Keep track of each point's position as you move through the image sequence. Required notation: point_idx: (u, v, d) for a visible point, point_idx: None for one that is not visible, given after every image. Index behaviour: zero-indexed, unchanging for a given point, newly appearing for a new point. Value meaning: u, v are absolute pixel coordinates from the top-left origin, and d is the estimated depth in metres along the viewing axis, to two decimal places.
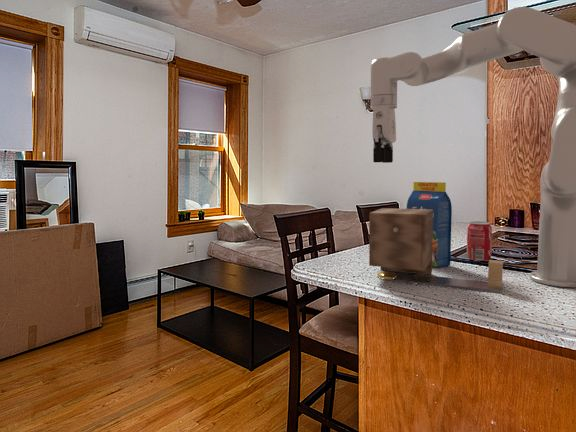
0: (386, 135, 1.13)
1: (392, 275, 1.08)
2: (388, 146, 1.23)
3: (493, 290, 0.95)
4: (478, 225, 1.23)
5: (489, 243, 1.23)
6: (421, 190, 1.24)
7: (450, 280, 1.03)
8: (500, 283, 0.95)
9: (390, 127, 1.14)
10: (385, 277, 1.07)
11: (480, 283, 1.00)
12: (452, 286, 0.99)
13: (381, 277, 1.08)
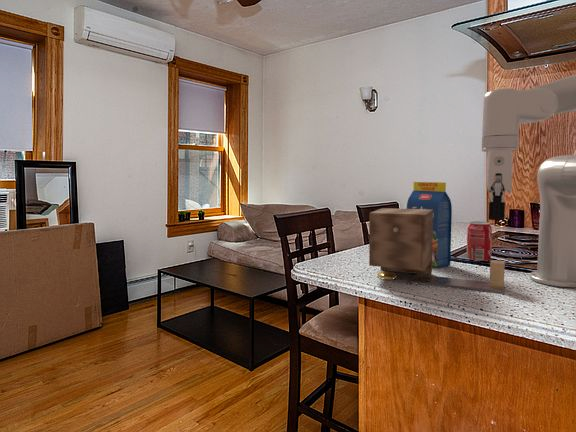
0: (508, 187, 0.89)
1: (392, 275, 1.08)
2: None
3: (495, 290, 0.94)
4: (478, 225, 1.23)
5: (489, 243, 1.23)
6: (421, 190, 1.24)
7: (451, 280, 1.03)
8: (502, 283, 0.95)
9: None
10: (385, 277, 1.07)
11: (482, 283, 1.00)
12: (454, 286, 0.98)
13: (381, 277, 1.08)
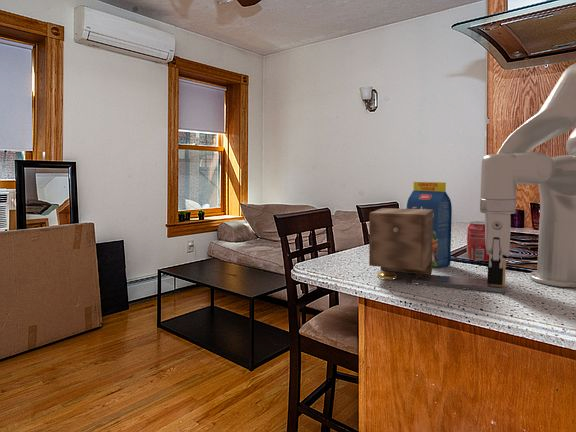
0: (506, 251, 0.91)
1: (392, 275, 1.08)
2: None
3: (496, 288, 0.94)
4: (478, 225, 1.23)
5: None
6: (421, 190, 1.24)
7: (452, 278, 1.03)
8: (503, 281, 0.95)
9: None
10: (385, 277, 1.07)
11: (483, 281, 1.00)
12: (455, 285, 0.98)
13: (381, 277, 1.08)
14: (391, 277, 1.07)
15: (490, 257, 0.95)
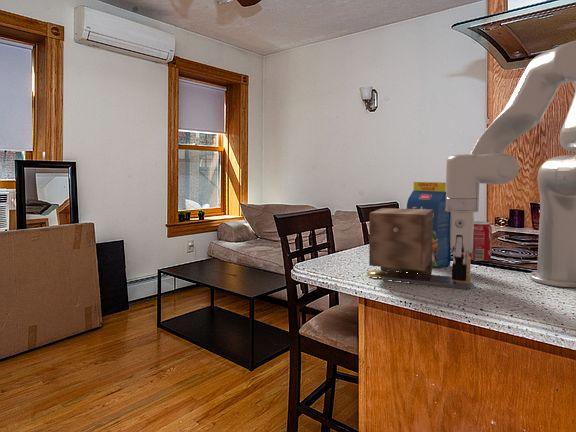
0: (468, 248, 0.95)
1: (381, 273, 1.09)
2: None
3: (461, 285, 0.98)
4: (478, 225, 1.23)
5: (489, 243, 1.23)
6: (421, 190, 1.24)
7: (421, 275, 1.06)
8: (468, 278, 0.99)
9: (472, 237, 0.96)
10: (374, 275, 1.09)
11: (450, 278, 1.03)
12: (422, 281, 1.02)
13: (370, 275, 1.09)
14: (380, 275, 1.08)
15: (454, 254, 0.98)
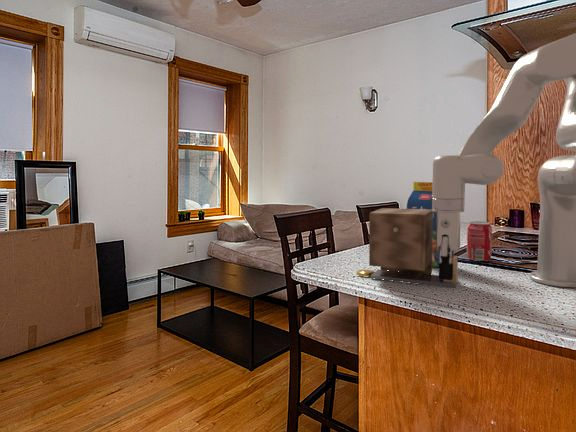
0: (454, 248, 0.96)
1: (370, 273, 1.11)
2: None
3: (447, 283, 0.99)
4: (478, 225, 1.23)
5: (489, 243, 1.23)
6: (421, 190, 1.24)
7: (409, 274, 1.08)
8: (454, 277, 1.00)
9: (458, 237, 0.97)
10: (364, 275, 1.10)
11: (437, 277, 1.04)
12: (410, 280, 1.03)
13: (360, 275, 1.11)
14: (369, 275, 1.10)
15: (440, 253, 1.00)
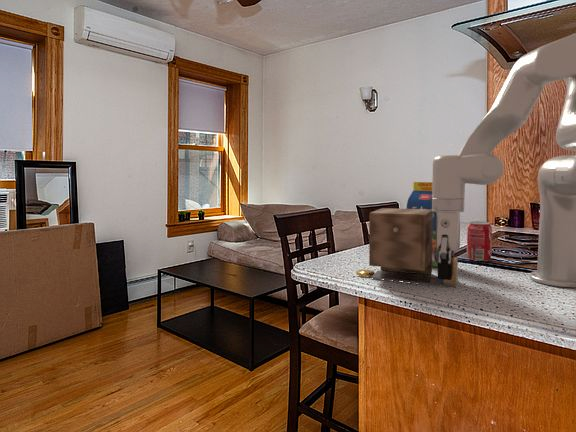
0: (453, 248, 0.96)
1: (370, 273, 1.11)
2: (449, 253, 1.05)
3: (448, 285, 0.99)
4: (478, 225, 1.23)
5: (489, 243, 1.23)
6: (421, 190, 1.24)
7: (410, 276, 1.08)
8: (454, 278, 1.00)
9: (457, 237, 0.97)
10: (363, 274, 1.10)
11: (437, 279, 1.04)
12: (410, 281, 1.03)
13: (359, 275, 1.11)
14: (369, 275, 1.10)
15: (440, 252, 0.99)
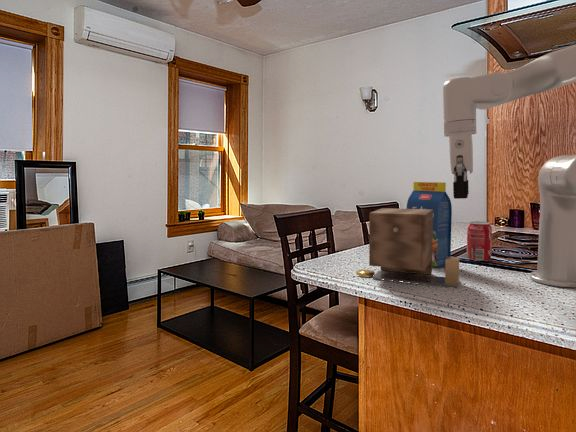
0: (469, 167, 0.97)
1: (370, 273, 1.11)
2: None
3: (449, 285, 0.99)
4: (478, 225, 1.23)
5: (489, 243, 1.23)
6: (421, 190, 1.24)
7: (411, 276, 1.08)
8: (456, 278, 1.00)
9: (472, 157, 0.99)
10: (363, 274, 1.10)
11: (439, 279, 1.04)
12: (412, 282, 1.03)
13: (359, 275, 1.11)
14: (369, 275, 1.10)
15: (455, 172, 0.99)
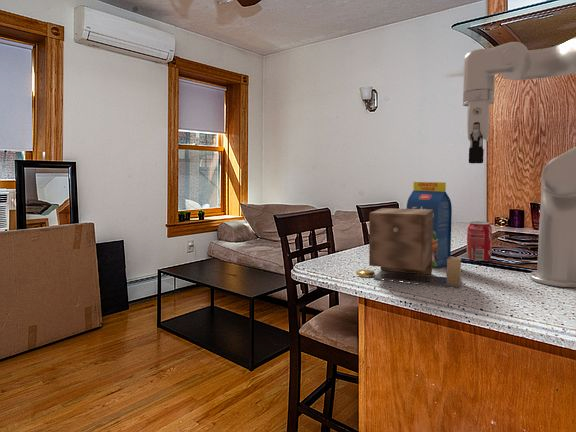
0: (485, 134, 1.04)
1: (370, 273, 1.11)
2: None
3: (451, 285, 0.99)
4: (478, 225, 1.23)
5: (489, 243, 1.23)
6: (421, 190, 1.24)
7: (412, 276, 1.08)
8: (458, 279, 1.00)
9: (488, 125, 1.05)
10: (363, 274, 1.10)
11: (440, 279, 1.04)
12: (413, 282, 1.03)
13: (359, 275, 1.11)
14: (369, 275, 1.10)
15: (471, 138, 1.06)
